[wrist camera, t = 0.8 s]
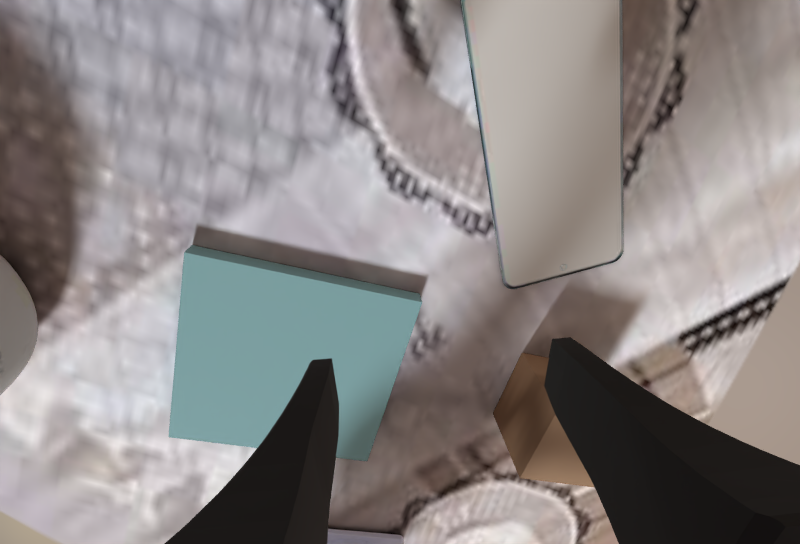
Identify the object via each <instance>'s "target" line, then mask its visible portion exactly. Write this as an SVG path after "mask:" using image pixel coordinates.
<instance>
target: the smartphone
mask: <svg viewBox="0 0 800 544" xmlns="http://www.w3.org/2000/svg"><path fill="white" fill-rule="evenodd" d="M460 1H461V8H462V15H463V21H464V28H465V34H466V41H467V48H468V54H469V61H470V68H471V74H472V81H473V87H474V94H475V101H476V107H477V114H478V121H479V127H480V134H481V140H482V147H483V154H484V160H485V167H486V174H487V180H488V187H489V194H490V200H491V207H492V213H493V217H492V218H493V224H494V228H495V237H496V243H497V249H498V255H499V264H500V269H501V273H502V280H503V283H504V285H505V286H506V287H507V288H509V289H517V288H520V287H524V286H528V285H532V284H535V283H539V282H543V281H547V280H550V279H554V278H558V277H562V276H565V275H569V274H573V273H577V272H580V271H584V270H588V269H592V268H595V267H599V266H603V265H607V264H610V263H613V262H615V261H617V260H618V259H619V258H620V257H621V256H622V254H623V61H622V0H460Z"/></svg>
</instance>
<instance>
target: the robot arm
mask: <svg viewBox="0 0 800 544" xmlns="http://www.w3.org/2000/svg"><path fill="white" fill-rule="evenodd" d="M544 387H545V389H546V392H547V395H548V397H549V400H550V403H551V405H552V408H553V410H554V412H555V415H556V417H557V418H558V420H559V422H560V424H561V426H562V428H563V430H564V431H565V433H566V435H567V437H568V439H569V441H570V442H571V444H572V446H573V448H574V450H575V451H576V453H577V455H578V457H579V459H580V461H581V462H582V464H583V466H584V468H585V470H586V471H587V473H588V475H589V477H590V479H591V481H592V483H593V485H594V487H595V489H596V491H597V493H598V495H599V497H600V500H601V502H602V504H603V507H604V509H605V511H606V514H607V516H608V518H609V520H610V523H611V525H612V528H613V530H614V533H615V535H616V538H617V540H618V542H619V544H800V465H797V464H795V463H792V462H790V461H787V460H785V459H782V458H779V457H777V456H775V455H772V454H770V453H767V452H765V451H762V450H760V449H758V448H755V447H753V446H751V445H749V444H746V443H744V442H742V441H739V440H737V439H735V438H733V437H731V436H729V435H727V434H725V433H723V432H721V431H718V430H716V429H714V428H712V427H710V426H708V425H706V424H704V423H702V422H700V421H699V420H697V419H695V418H693V417H691V416H689V415H688V414H686V413H684V412H682V411H680V410H678V409H677V408H675V407H673V406H671V405H670V404H668V403H666V402H664V401H663V400H661V399H660V398H658V397H656V396H655V395H653V394H652V393H650V392H648V391H647V390H645V389H644V388H642V387H641V386H639V385H638V384H636V383H635V382H633V381H631V380H630V379H629V378H627V377H626V376H624V375H623V374H621V373H620V372H618V371H617V370H616V369H614V368H613V367H611V366H610V365H608V364H607V363H606V362H604V361H603V360H602V359H600V358H599V357H597V356H596V355H595V354H593V353H592V352H590V351H589V350H588V349H586V348H585V347H583V346H582V345H581V344H579V343H578V342H576V341H575V340H573V339H572V338H559V339H552V344H551V349H550V355H549V360H548V366H547V372H546V377H545V383H544ZM338 436H339V400H338V394H337V387H336V381H335V375H334V368H333V362H332V358H328V359H317V360H312V361H311V362H310V363H309V366H308V368H307V370H306V372H305V374H304V376H303V378H302V380H301V382H300V383H299V385H298V387H297V389H296V391H295V393H294V394H293V396H292V398H291V399H290V401H289V403H288V404H287V406H286V408H285V409H284V411H283V412H282V414H281V416H280V417H279V418H278V420H277V421H276V423H275V424H274V426H273V427H272V429H271V430H270V432H269V433H268V435H267V436H266V437H265V439H264V440H263V441H262V443H261V444H260V445H259V447H258V448H257V449H256V451H255V452H254V453H253V454H252V456H251V457H250V458H249V459H248V461H247V462H246V463H245V464H244V465H243V467H242V468H241V469H240V470H239V471H238V472H237V473H236V475H235V476H234V477H233V478H232V479H231V480H230V481H229V482H228V484H227V485H226V486H225V487H224V488H223V489H222V490H221V491H220V492H219V493H218V494H217V495H216V496H215V497H214V498H213V499H212V500H211V501H210V502H209V503H208V504H207V505H206V506H205V507H204V508H203V509H202V510H201V511H200V512H199V513H198V514H197V515H196V516H195V517H194V518H193V519H192V520H191V521H190V522H189V523H188V524H186V525H185V526H184V527H183V528H182V529H181V530H180V531H179V532H178V533H176V534H175V535H174V536H173V537H172V538H171V539H169V540H168V541H167V542H166V543H165V544H404V540H403V537H402V536H401V535H396V534H384V533H373V532H361V531H349V530H338V529H328V518H329V507H330V499H331V491H332V483H333V475H334V468H335V460H336V452H337V444H338Z"/></svg>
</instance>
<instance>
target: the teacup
mask: <svg viewBox="0 0 800 544" xmlns="http://www.w3.org/2000/svg"><path fill="white" fill-rule="evenodd" d="M37 335H38V321H37V313H36V309H35V306H34V303H33V300H32V298H31V295H30V293H29V292H28V290H27V288H26V286H25V285H24V283H23V282H22V280H21V279H20V277H19V276H18V274H17V273H16V271H15V270H14V269H13V268H12V266H11V265H10V264H9V263H8V262H7V261H6V260H5V259H4V258H3V257H2V256H1V255H0V395H1V394H2V393H3V392H4V391H5V390H6V389H7V388H8V387H9V386H10V385H11V384H12V383H13V381H14V380H15V379H16V378H17V377H18V376H19V374H20V373H21V372H22V370H23V369H24V368H25V366H26V365H27V363H28V361H29V359H30V357H31V356H32V354H33V351H34V348H35V345H36V342H37Z"/></svg>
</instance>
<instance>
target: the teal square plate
mask: <svg viewBox="0 0 800 544" xmlns="http://www.w3.org/2000/svg"><path fill="white" fill-rule="evenodd" d="M421 304H422V300H421V297H420V294H419V293H414V292H409V291H405V290H400V289H395V288H391V287H386V286H381V285H376V284H372V283H367V282H362V281H358V280H353V279H348V278H344V277H339V276H334V275H330V274H325V273H320V272H316V271H311V270H306V269H302V268H297V267H292V266H288V265H283V264H278V263H274V262H269V261H264V260H260V259H255V258H250V257H246V256H241V255H236V254H232V253H227V252H222V251H217V250H213V249H208V248H203V247H199V246H194V245H192V246H191V247H189V248H188V249H187V250H186V251H185V252H184V262H183V274H182V286H181V297H180V309H179V321H178V333H177V344H176V356H175V368H174V380H173V391H172V403H171V415H170V427H169V437H172V438H181V439H189V440H197V441H205V442H213V443H221V444H230V445H238V446H246V447H254V448H258V447H259V445H260V444H261V443H262V441H263V440H264V439H265V437H266V436H267V435H268V433H269V432H270V430H271V429H272V427H273V426H274V424H275V423H276V421H277V420H278V418H279V417H280V416H281V414H282V412H283V411H284V409H285V408H286V406H287V404H288V403H289V401H290V399H291V398H292V396H293V394H294V393H295V391H296V389H297V387H298V385H299V383H300V382H301V380H302V378H303V376H304V374H305V372H306V370H307V368H308V366H309V363H310V362H311V361H312V360H317V359H328V358H332V362H333V368H334V375H335V381H336V387H337V394H338V400H339V436H338V444H337V452H336V458H344V459H352V460H360V461H368V458H369V455H370V452H371V449H372V446H373V443H374V440H375V437H376V434H377V432H378V429H379V426H380V423H381V420H382V417H383V414H384V411H385V408H386V406H387V403H388V400H389V397H390V394H391V391H392V388H393V385H394V382H395V379H396V377H397V374H398V371H399V368H400V365H401V362H402V359H403V356H404V353H405V351H406V348H407V345H408V342H409V339H410V336H411V333H412V330H413V327H414V324H415V322H416V319H417V316H418V313H419V310H420V307H421Z"/></svg>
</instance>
